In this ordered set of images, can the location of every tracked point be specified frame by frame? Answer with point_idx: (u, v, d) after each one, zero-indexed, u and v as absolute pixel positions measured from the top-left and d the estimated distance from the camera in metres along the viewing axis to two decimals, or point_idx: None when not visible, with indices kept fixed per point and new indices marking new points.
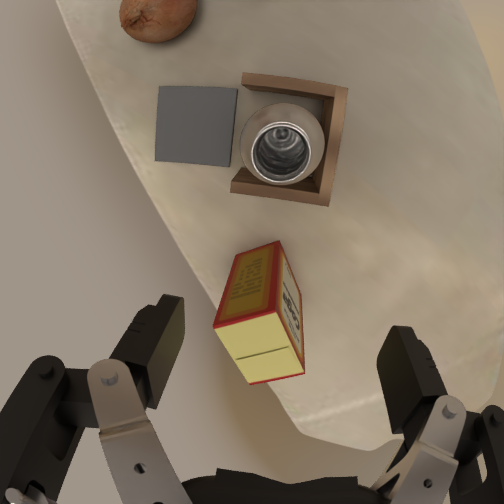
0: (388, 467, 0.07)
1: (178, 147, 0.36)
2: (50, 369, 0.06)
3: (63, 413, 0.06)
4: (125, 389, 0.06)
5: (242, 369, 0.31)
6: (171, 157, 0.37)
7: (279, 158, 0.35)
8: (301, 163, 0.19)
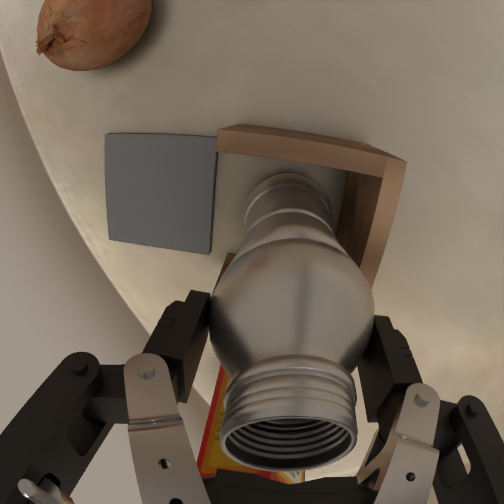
0: (366, 460, 0.07)
1: (137, 224, 0.26)
2: (84, 366, 0.07)
3: (92, 410, 0.07)
4: (164, 382, 0.07)
5: None
6: (130, 237, 0.26)
7: None
8: None
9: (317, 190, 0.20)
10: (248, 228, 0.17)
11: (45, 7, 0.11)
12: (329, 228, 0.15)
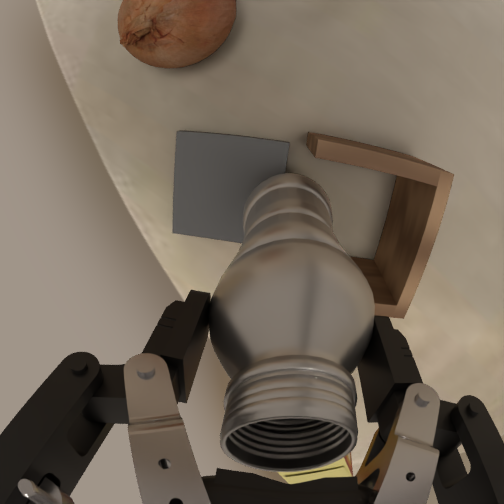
0: (366, 460, 0.07)
1: (205, 218, 0.28)
2: (84, 366, 0.07)
3: (92, 410, 0.07)
4: (164, 382, 0.07)
5: (288, 481, 0.23)
6: (195, 230, 0.29)
7: None
8: None
9: (317, 190, 0.20)
10: (248, 228, 0.17)
11: None
12: (329, 228, 0.15)
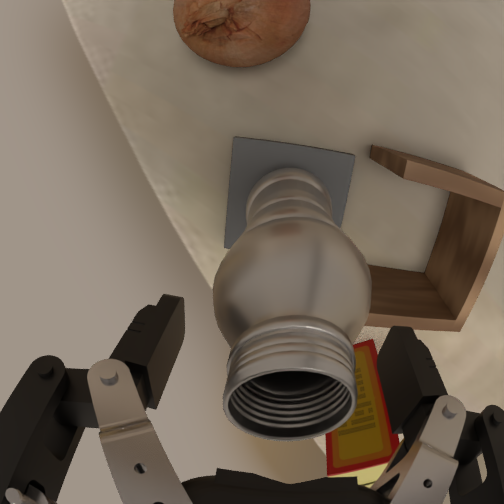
0: (388, 467, 0.07)
1: None
2: (50, 369, 0.06)
3: (63, 413, 0.06)
4: (125, 389, 0.06)
5: None
6: None
7: None
8: (329, 384, 0.09)
9: (317, 183, 0.20)
10: (251, 217, 0.18)
11: None
12: (328, 215, 0.16)
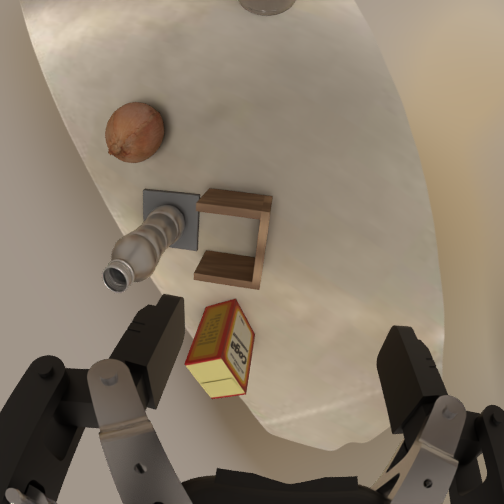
0: (388, 467, 0.07)
1: None
2: (50, 369, 0.06)
3: (63, 413, 0.06)
4: (125, 389, 0.06)
5: (205, 389, 0.47)
6: None
7: None
8: None
9: (171, 213, 0.45)
10: None
11: (111, 132, 0.37)
12: (160, 230, 0.41)
